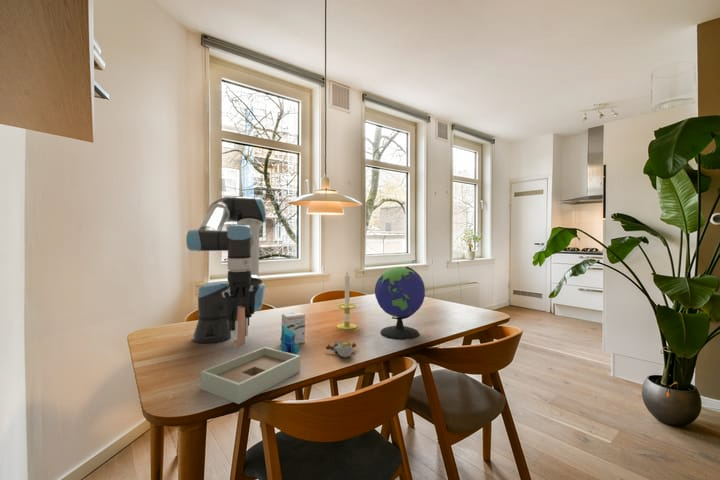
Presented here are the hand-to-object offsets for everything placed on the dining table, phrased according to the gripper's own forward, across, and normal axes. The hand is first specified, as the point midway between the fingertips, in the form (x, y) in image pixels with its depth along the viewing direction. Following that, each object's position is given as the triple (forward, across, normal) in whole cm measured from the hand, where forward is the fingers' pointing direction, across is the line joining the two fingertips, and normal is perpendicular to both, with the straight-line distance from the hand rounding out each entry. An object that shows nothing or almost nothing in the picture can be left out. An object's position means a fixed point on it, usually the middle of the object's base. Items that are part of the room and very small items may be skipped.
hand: (239, 337), depth 113 cm
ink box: (+9, +24, -3) cm, 26 cm away
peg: (+2, 0, 0) cm, 2 cm away
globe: (+9, +58, -35) cm, 68 cm away
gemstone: (+8, +10, -14) cm, 19 cm away
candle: (+9, +55, -9) cm, 57 cm away
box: (+8, -8, -16) cm, 19 cm away
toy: (+9, +26, -26) cm, 37 cm away
